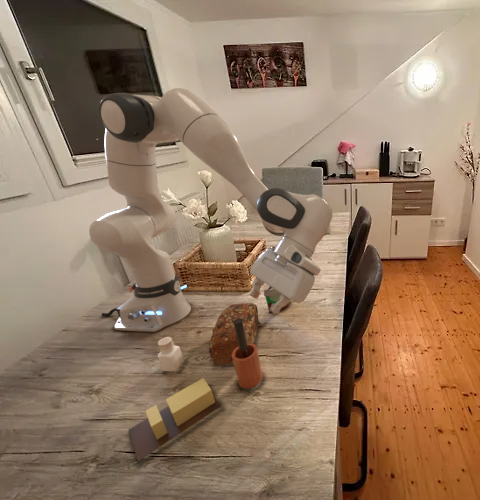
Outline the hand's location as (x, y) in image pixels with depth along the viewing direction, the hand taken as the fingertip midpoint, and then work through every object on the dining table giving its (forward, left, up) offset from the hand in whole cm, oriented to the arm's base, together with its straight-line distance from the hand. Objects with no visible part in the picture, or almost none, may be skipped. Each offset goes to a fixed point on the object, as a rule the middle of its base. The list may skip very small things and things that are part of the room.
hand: (262, 304), depth 68 cm
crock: (-5, -4, -20) cm, 21 cm away
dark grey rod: (-5, -4, -20) cm, 21 cm away
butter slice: (-22, -15, -19) cm, 33 cm away
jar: (+14, +107, -20) cm, 110 cm away
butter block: (-16, -11, -19) cm, 27 cm away
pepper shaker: (-27, +3, -20) cm, 34 cm away
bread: (-12, +11, -20) cm, 26 cm away
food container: (-1, +29, -20) cm, 35 cm away
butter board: (-19, -13, -20) cm, 31 cm away
